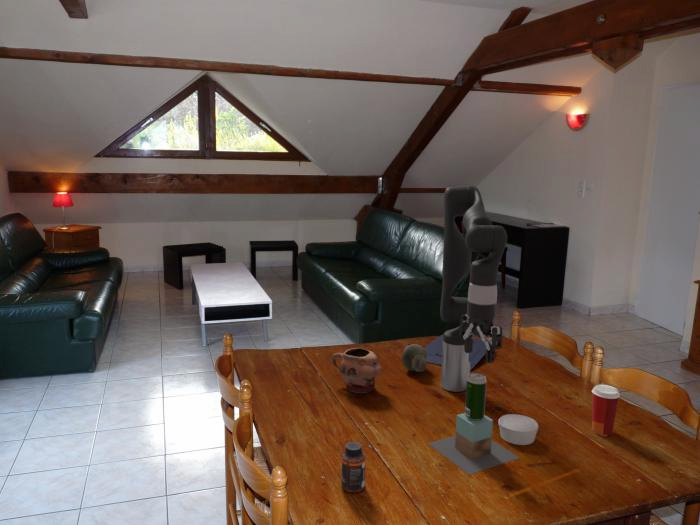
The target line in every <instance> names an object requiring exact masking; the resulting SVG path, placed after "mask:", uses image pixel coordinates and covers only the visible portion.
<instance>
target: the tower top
mask: <svg viewBox="0 0 700 525" xmlns="http://www.w3.org/2000/svg"><path fill="white" fill-rule="evenodd" d="M455 421H456V423H455V424H456V425H455V426H456V427H455V433H456V432H458V433H459V434H460V435H462V436H463V437H465V438H466V439H468V440H469V441H471V442H472V443H473V442H476V441H479V440H483V439H486V438H489V437H492V438H493V427H494V426H493V425H494V419H492V418H490V417H489V416H487V415H485V414H484V418H483V420H481V421H471V420H468V419H467V418H466V416H465V412H464V413H459V414H456V420H455Z"/></svg>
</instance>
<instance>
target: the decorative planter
mask: <svg viewBox="0 0 700 525" xmlns="http://www.w3.org/2000/svg"><path fill="white" fill-rule="evenodd" d="M337 359H340V360H341V362H340V364H339V366H338V364H337V363H336V361H337ZM331 361H332V362H331V363H332V364H333V367H335V368H336V369H337V370H338V371H339V372H340V375H341V376H342V379H343V381H344V383H345V387H346V390H348V391H349V392H352V393H356V394H369V393H371V392H373V391H374V389H375V386H376V381H375V379H376V378H377V377H378V376H380V375H382V373H383V368H382V366H381V364H380V361H379V358H378V356H377V355H376V353H374V352H373V351H371V350H368V349H366V348H361V347H356V348H355V347H353V348H349V349H346V350H345V351H344V352H343V353H342V352H336V353H334V354H333V355H332V357H331Z"/></svg>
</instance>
